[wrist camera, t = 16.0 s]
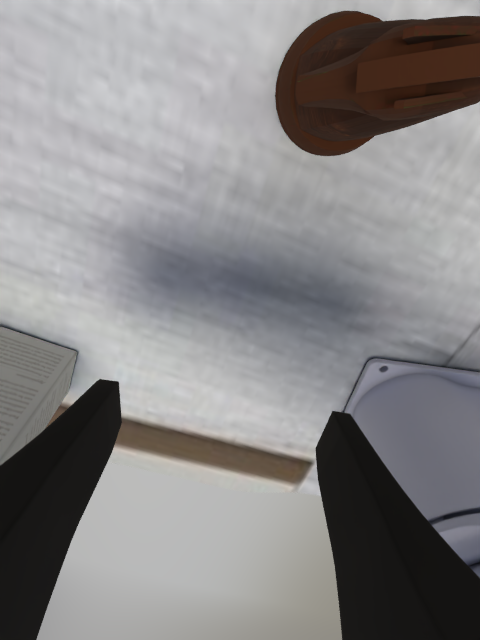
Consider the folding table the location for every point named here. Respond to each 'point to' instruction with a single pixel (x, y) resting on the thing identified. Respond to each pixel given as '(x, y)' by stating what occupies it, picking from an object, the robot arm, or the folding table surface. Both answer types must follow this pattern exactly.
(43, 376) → the cosmetic box
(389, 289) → the folding table surface
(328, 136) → the chess piece
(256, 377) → the folding table surface
